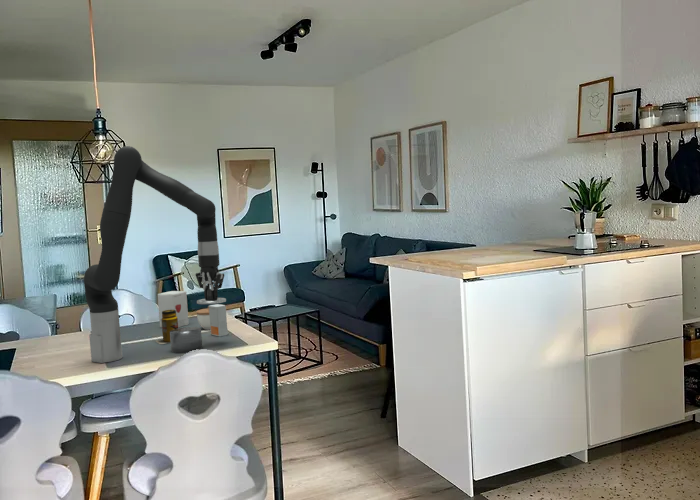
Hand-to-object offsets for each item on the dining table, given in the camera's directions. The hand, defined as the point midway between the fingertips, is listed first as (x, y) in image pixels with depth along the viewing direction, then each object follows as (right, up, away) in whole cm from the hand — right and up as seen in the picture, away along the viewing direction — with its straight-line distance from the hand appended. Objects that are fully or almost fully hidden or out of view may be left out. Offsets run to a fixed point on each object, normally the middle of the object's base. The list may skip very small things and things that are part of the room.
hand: (211, 299), depth 227 cm
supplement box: (-25, -15, +41) cm, 51 cm away
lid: (0, -1, 0) cm, 1 cm away
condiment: (-19, -17, +11) cm, 28 cm away
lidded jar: (-7, -15, +32) cm, 36 cm away
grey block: (-8, -18, -5) cm, 20 cm away
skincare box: (-1, -16, +17) cm, 23 cm away
